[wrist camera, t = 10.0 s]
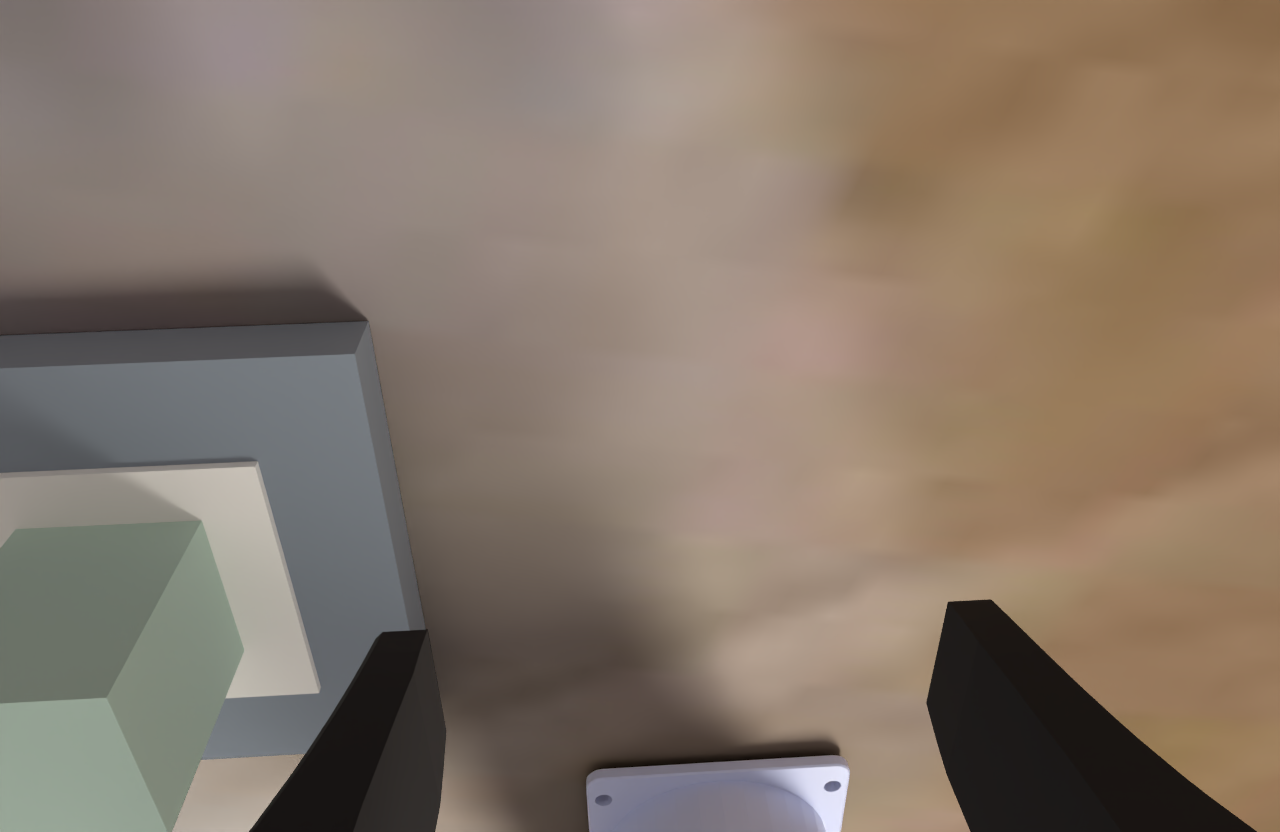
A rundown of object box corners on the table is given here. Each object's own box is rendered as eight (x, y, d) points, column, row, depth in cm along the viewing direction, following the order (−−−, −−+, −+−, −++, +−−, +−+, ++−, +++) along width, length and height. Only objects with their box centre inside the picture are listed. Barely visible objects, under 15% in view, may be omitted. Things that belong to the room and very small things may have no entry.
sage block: (244, 650, 23) (169, 836, 19) (75, 659, 23) (-38, 849, 18) (201, 520, 21) (106, 697, 17) (15, 528, 21) (-130, 710, 16)
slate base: (439, 702, 27) (431, 752, 25) (4, 727, 26) (-29, 779, 25) (368, 321, 20) (352, 358, 19) (-208, 343, 20) (-269, 384, 18)
